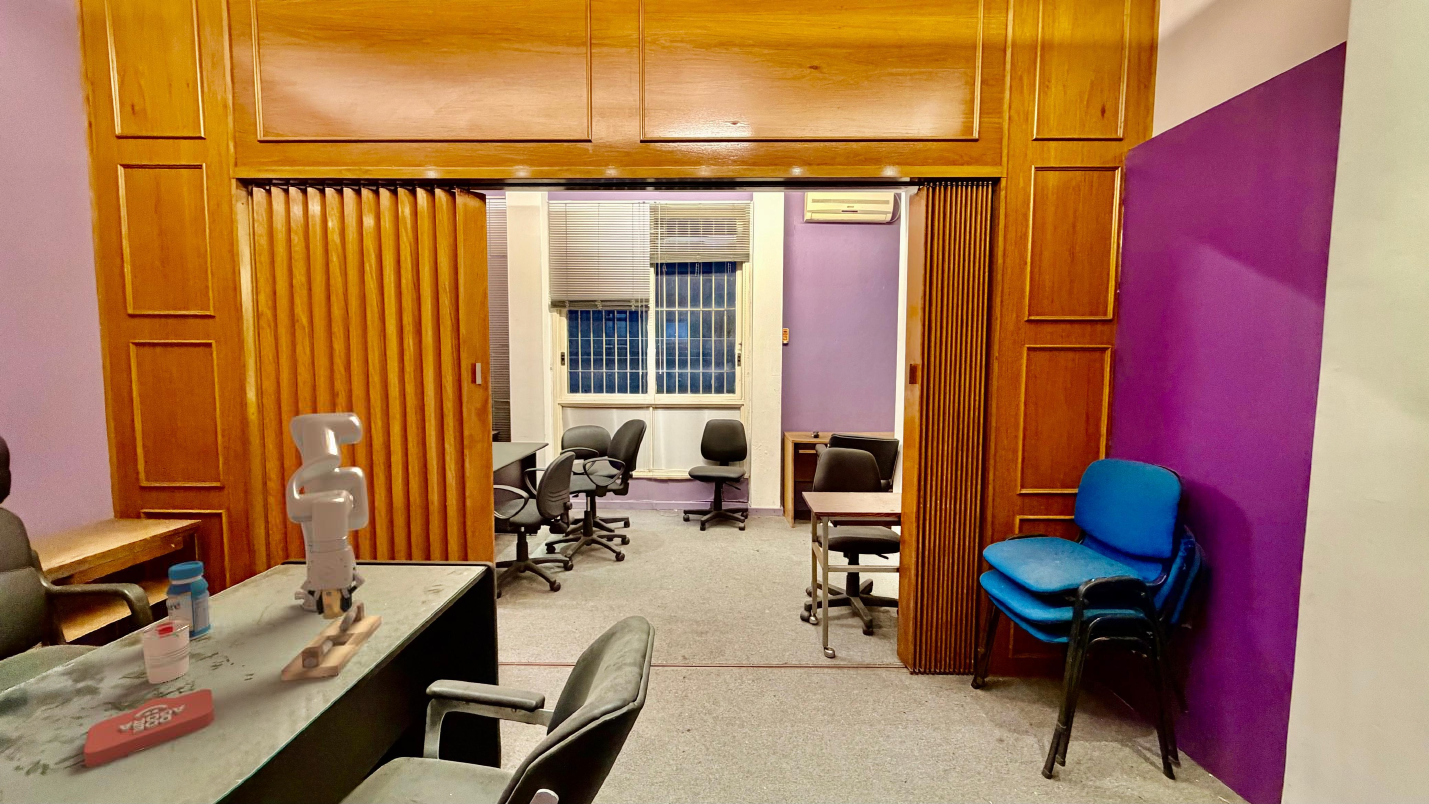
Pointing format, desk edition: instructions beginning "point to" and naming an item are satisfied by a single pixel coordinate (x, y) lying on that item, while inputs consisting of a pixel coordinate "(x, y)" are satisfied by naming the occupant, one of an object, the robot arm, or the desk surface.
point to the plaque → (148, 726)
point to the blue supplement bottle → (189, 597)
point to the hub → (332, 603)
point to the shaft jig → (329, 659)
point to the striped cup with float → (166, 650)
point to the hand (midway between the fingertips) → (334, 610)
